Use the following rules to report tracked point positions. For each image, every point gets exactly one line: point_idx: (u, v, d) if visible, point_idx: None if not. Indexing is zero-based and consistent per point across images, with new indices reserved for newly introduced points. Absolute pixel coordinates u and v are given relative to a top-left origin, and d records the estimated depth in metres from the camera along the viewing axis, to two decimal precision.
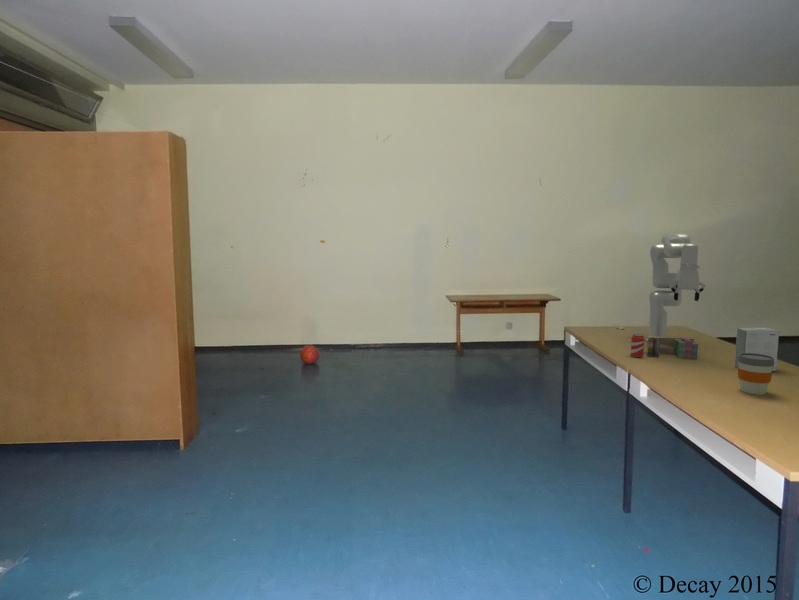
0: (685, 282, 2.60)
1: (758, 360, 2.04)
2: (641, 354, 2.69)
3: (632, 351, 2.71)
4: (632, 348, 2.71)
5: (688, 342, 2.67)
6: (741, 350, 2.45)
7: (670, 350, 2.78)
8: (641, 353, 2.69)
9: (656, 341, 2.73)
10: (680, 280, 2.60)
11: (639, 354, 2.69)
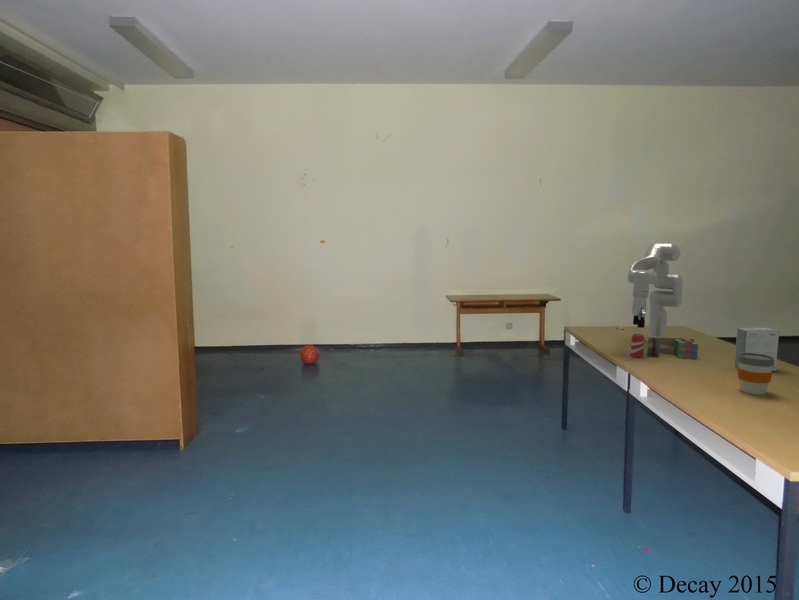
0: None
1: (758, 360, 2.04)
2: (641, 354, 2.69)
3: (632, 351, 2.71)
4: (632, 348, 2.71)
5: (688, 342, 2.67)
6: (741, 350, 2.45)
7: (670, 350, 2.78)
8: (641, 353, 2.69)
9: (656, 341, 2.73)
10: None
11: (639, 354, 2.69)
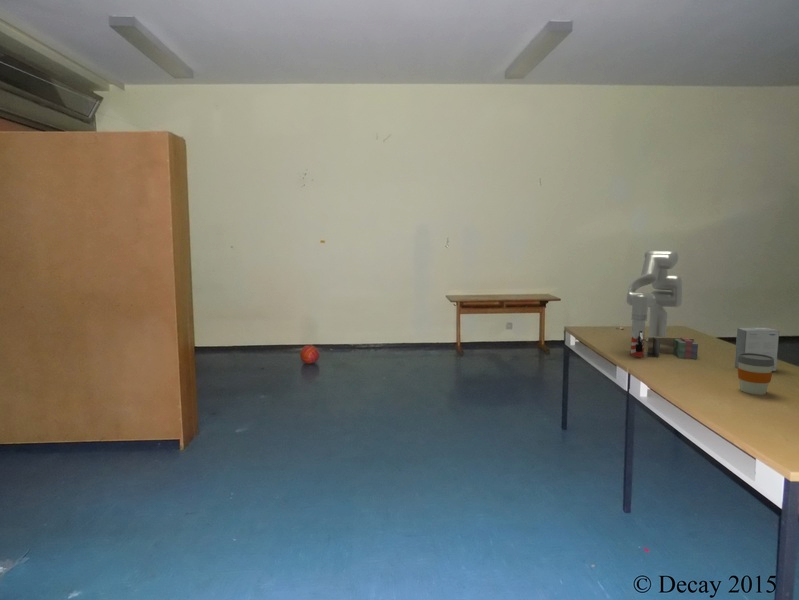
0: None
1: (758, 360, 2.04)
2: (641, 354, 2.69)
3: (632, 351, 2.71)
4: (632, 348, 2.71)
5: (688, 342, 2.67)
6: (741, 350, 2.45)
7: (670, 350, 2.78)
8: (641, 353, 2.69)
9: (656, 341, 2.73)
10: (644, 330, 2.66)
11: (639, 354, 2.69)
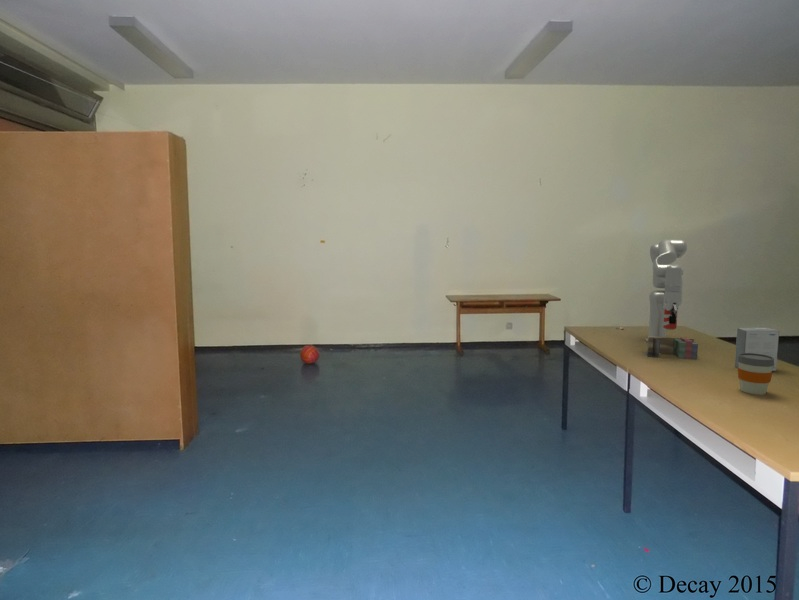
0: None
1: (758, 360, 2.04)
2: (674, 326, 2.66)
3: (665, 323, 2.68)
4: (665, 320, 2.68)
5: (688, 342, 2.67)
6: (741, 350, 2.45)
7: (670, 350, 2.78)
8: (674, 325, 2.66)
9: (656, 341, 2.73)
10: (678, 302, 2.63)
11: (672, 326, 2.66)
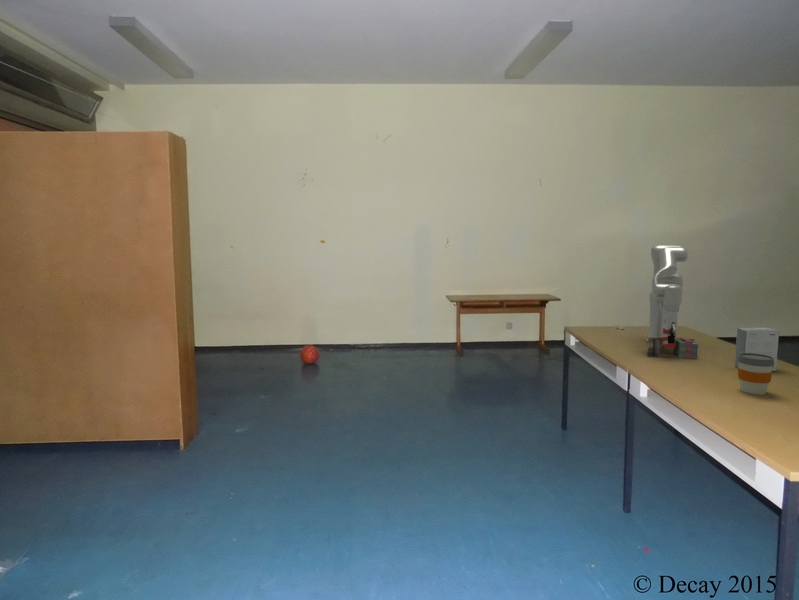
0: None
1: (758, 360, 2.04)
2: (673, 345, 2.67)
3: (664, 343, 2.69)
4: (663, 339, 2.69)
5: (688, 342, 2.67)
6: (741, 350, 2.45)
7: (670, 350, 2.78)
8: (673, 344, 2.67)
9: (656, 341, 2.73)
10: None
11: (671, 346, 2.67)
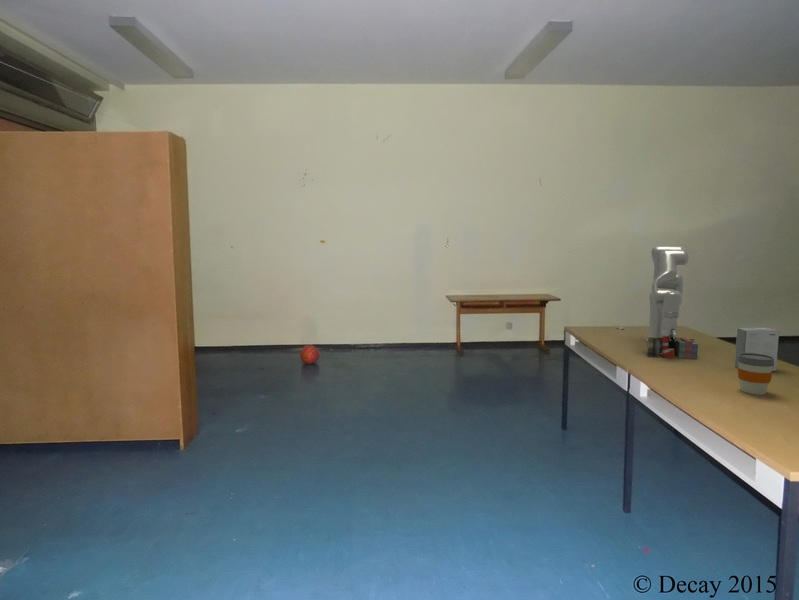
0: None
1: (758, 360, 2.04)
2: (672, 354, 2.68)
3: (663, 351, 2.70)
4: (663, 348, 2.70)
5: (688, 342, 2.67)
6: (741, 350, 2.45)
7: None
8: (672, 353, 2.68)
9: (656, 341, 2.73)
10: (676, 328, 2.65)
11: (670, 355, 2.68)
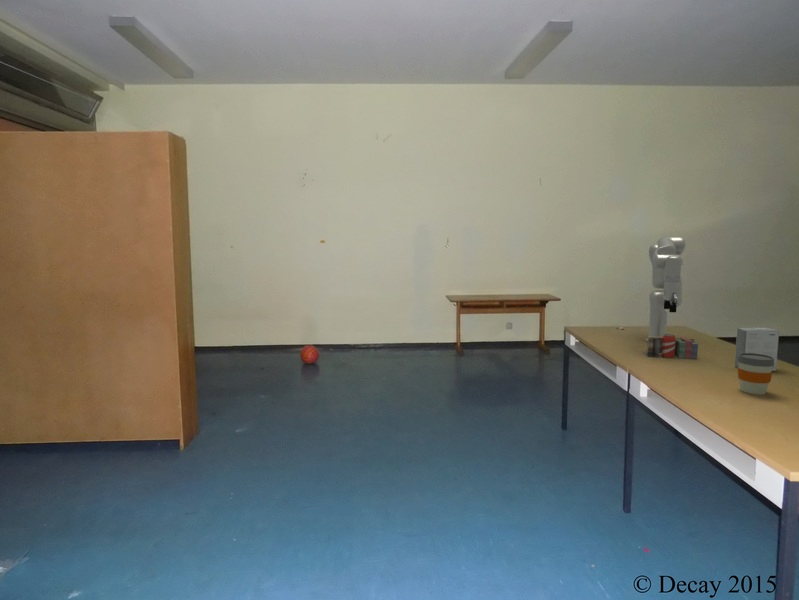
0: None
1: (758, 360, 2.04)
2: (672, 354, 2.68)
3: (663, 351, 2.70)
4: (663, 348, 2.70)
5: (688, 342, 2.67)
6: (741, 350, 2.45)
7: None
8: (672, 353, 2.68)
9: (656, 341, 2.73)
10: (678, 292, 2.66)
11: (670, 355, 2.68)
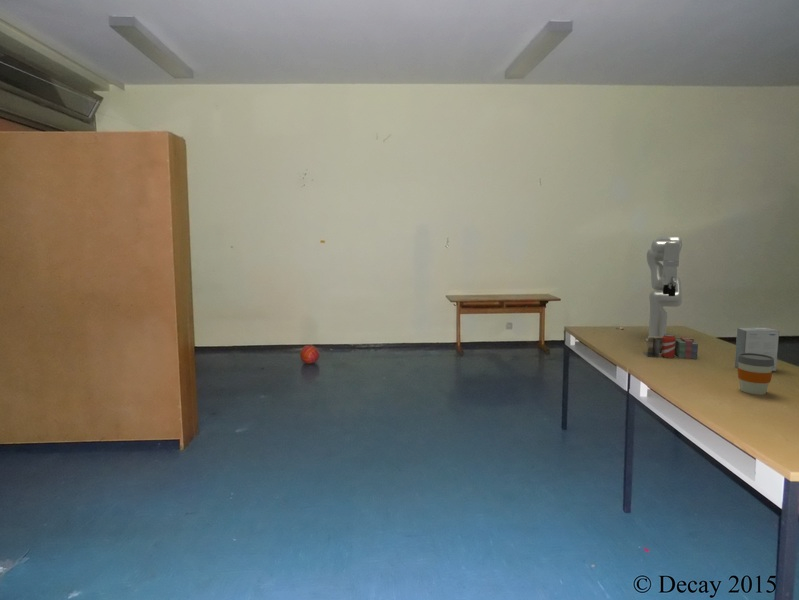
0: None
1: (758, 360, 2.04)
2: (672, 354, 2.68)
3: (663, 351, 2.70)
4: (663, 348, 2.70)
5: (688, 342, 2.67)
6: (741, 350, 2.45)
7: None
8: (672, 353, 2.68)
9: (656, 341, 2.73)
10: (676, 276, 2.72)
11: (670, 355, 2.68)
